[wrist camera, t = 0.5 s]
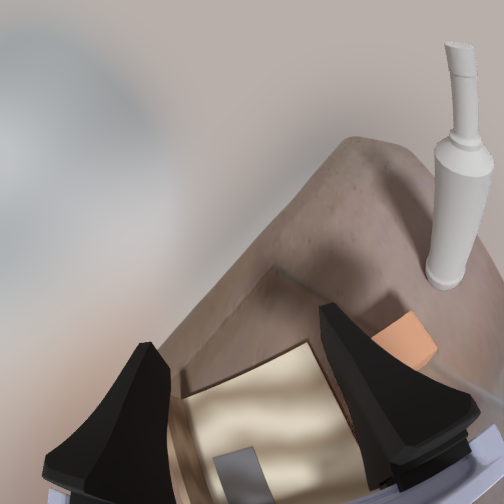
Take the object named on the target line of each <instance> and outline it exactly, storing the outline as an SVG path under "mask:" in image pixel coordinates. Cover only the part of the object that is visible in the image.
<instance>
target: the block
mask: <svg viewBox="0 0 504 504" xmlns="http://www.w3.org/2000/svg"><path fill="white" fill-rule="evenodd" d="M371 339H372V340H373V341H375V342H376V343H377V344H378V345H379V346H381V347H382V348H383V349H384V350H386V351H387V352H388V353H390V354H391V355H393V356H394V357H395V358H397V359H398V360H400V361H401V362H403V363H404V364H406V365H407V366H409V367H411V368H412V369H414V370H416V371H417V370H419V369H420V368H421V367H423V366H424V365H425V364H427V363H428V362H429V360H430V359H431V358H432V356H433V355H434V353H435V352H436V351H437V349H438V348H437V347H436V345H435V344H434V342H433V341H432V339H431V338H430V336H429V335H428V333H427V332H426V330H425V329H424V327H423V326H422V325H421V323H420V322H419V320H418V319H417V318H416V316H415V315H414V313H413V312H412V311H410V312H408V313H407V314H405V315H404V316H403V317H401V318H400V319H398V320H397V321H396V322H394V323H393V324H391V325H390V326H388V327H387V328H385V329H384V330H382V331H381V332H379V333H378V334H376V335H375V336H373V337H372V338H371Z"/></svg>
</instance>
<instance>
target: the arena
mask: <svg viewBox="0 0 504 504" xmlns="http://www.w3.org/2000/svg"><path fill="white" fill-rule="evenodd" d="M167 449H168V454H169V458H170V462H171V466H172V469H173V473H174V476H175V480H176V483H177V486H178V489H179V493H180V496H181V499H182V502H183V504H343V503H346V502H349V501H352V500H355V499H358V498H361V497H364V496H367V495H370V494H372V493H375V492H378V491H380V488H378V489H376V490H373V491H371V492H370V491H369V488H368V484H367V479H366V474H365V469H364V464H363V460H362V455H361V451H360V447H359V445H358V443H357V441H356V439H355V437H354V435H353V433H352V431H351V429H350V427H349V425H348V423H347V420H346V418H345V416H344V414H343V412H342V410H341V408H340V406H339V404H338V402H337V400H336V398H335V396H334V394H333V392H332V390H331V388H330V386H329V384H328V382H327V380H326V378H325V376H324V374H323V372H322V370H321V368H320V366H319V364H318V362H317V360H316V358H315V356H314V354H313V352H312V350H311V348H310V346H309V344H308V343H307V342H306V343H305V344H303V345H301V346H299V347H297V348H295V349H293V350H292V351H290V352H288V353H286V354H284V355H282V356H280V357H278V358H276V359H274V360H272V361H270V362H268V363H266V364H264V365H262V366H260V367H258V368H255V369H253V370H251V371H249V372H247V373H245V374H243V375H240V376H238V377H236V378H234V379H231V380H229V381H227V382H225V383H222V384H220V385H217V386H215V387H213V388H210V389H208V390H205V391H203V392H200V393H198V394H195V395H193V396H190V397H187V398H185V399H181V398H177V397H174V396H171V395H170V404H169V415H168V426H167Z"/></svg>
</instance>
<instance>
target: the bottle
mask: <svg viewBox="0 0 504 504" xmlns="http://www.w3.org/2000/svg"><path fill="white" fill-rule="evenodd" d="M444 44H445V49H446V55H447V61H448V68H449V71H450V78H451V87H452V100H453V121H454V128H453V129H452V130H450V133H449V136H448V137H446V138H444V139H443V140H441V141H440V142H438V143H437V145H436V147H435V149H434V152H435V153H434V154H435V193H434V213H433V226H432V236H431V245H430V253H429V255H428V257H427V259H426V269H425V273H426V276H427V279H428V282H429V283H430V284H431V285H432V286H433V287H434V288H436V289H438V290H443V291H448V290H451V289H453V288H455V287H456V286H457V285H458V284H459V283H460V282H461V280H462V278H463V275H464V273H465V265H466V262H467V259H468V257H469V254H470V252H471V249H472V246H473V243H474V240H475V237H476V234H477V231H478V228H479V225H480V222H481V218H482V214H483V211H484V208H485V204H486V200H487V196H488V192H489V187H490V183H491V178H492V173H493V167H494V160H493V158H492V156H491V154H490V152H489V151H488V150H487V149H486V148H485V147H484V146H483V145H482V139H481V137H480V136H479V135H478V87H477V66H476V57H475V50H474V47H472V46H470V45H467V44H463V43H458V42H446V43H444Z"/></svg>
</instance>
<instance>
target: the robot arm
mask: <svg viewBox="0 0 504 504" xmlns="http://www.w3.org/2000/svg"><path fill="white" fill-rule="evenodd" d="M319 314H320V329H321V340H322V343H323V347H324V350H325V353H326V356H327V359H328V361H329V364H330V366H331V368H332V371H333V373H334V375H335V377H336V380H337V382H338V384H339V386H340V389H341V391H342V393H343V396H344V398H345V400H346V403H347V405H348V408H349V411H350V415H351V418H352V421H353V425H354V428H355V432H356V436H357V439H358V443H359V447H360V451H361V455H362V460H363V464H364V469H365V474H366V479H367V484H368V488H369V491H370V492H371V491H373V490H376V489H378V488H381V487H383V486H387V488H385V489H383V490H380V491H378V492H375V493H372V494H370V495H367V496H364V497H361V498H358V499H355V500H352V501H349V502H346V503H343V504H471V503H472V502H474V501H475V500H476V499H477V498H479V497H480V496H481V495H482V494H483V493H484V492H486V491H487V490H488V489H489V488H490V487H492V486H493V485H494V484H495V483H496V482H497V481H498V480H500V479H501V478H502V477H503V476H504V441H503V439H502V437H501V434H500V432H499V430H498V428H497V426H496V424H495V423H493V424H492V425H490V426H489V427H488V428H487V429H485V430H484V431H483V432H481V433H480V434H479V435H477V436H476V437H475V438H473V439H472V440H471V441H469V442H468V441H467V439H466V437H468V432H467V430H466V428H467V427H468V426H469V425H471V424H472V423H473V422H474V421H475V420H476V419H477V418H478V417H479V415H480V413H481V411H480V410H479V408H478V406H477V404H476V402H475V401H474V399H473V398H472V397H471V395H470V394H468V393H465V392H462V391H459V390H456V389H453V388H451V387H448V386H446V385H444V384H441V383H439V382H437V381H435V380H433V379H431V378H429V377H427V376H425V375H423V374H421V373H419V372H418V371H416V370H414V369H412V368H411V367H409V366H407V365H406V364H404V363H403V362H401V361H400V360H398V359H397V358H395V357H394V356H393V355H391V354H390V353H388V352H387V351H386V350H384V349H383V348H382V347H381V346H379V345H378V344H377V343H376V342H375V341H373V340H372V339H371V338H370V337H369V336H368V335H366V334H365V333H364V332H363V331H362V330H361V329H360V328H359V327H358V326H357V325H356V324H355V323H354V322H353V321H351V320H350V319H349V318H348V317H347V315H346V314H345V313H344V312H343V311H342V310H341V309H340V308H339V307H338V306H337V305H336V304H335V303H330V304H326V305H322V306H319ZM170 393H171V374H170V368H169V366H168V365H167V364H166V362H165V361H164V359H163V358H162V357H161V355H160V354H159V352H158V351H157V349H156V348H155V347H154V345H153V344H152V342H145V343H139V345H138V346H137V347H136V349H135V351H134V352H133V354H132V355H131V357H130V359H129V360H128V362H127V363H126V365H125V367H124V368H123V370H122V372H121V373H120V375H119V376H118V378H117V379H116V381H115V383H114V384H113V386H112V387H111V388H110V390H109V391H108V393H107V395H106V396H105V398H104V399H103V400H102V402H101V403H100V404H99V406H98V407H97V408H96V409H95V411H94V412H93V413H92V414H91V415H90V417H89V418H88V419H87V420H86V421H85V422H84V423H83V424H82V425H81V426H80V427H79V428H78V429H77V430H76V431H75V432H74V433H73V434H72V435H71V436H70V437H69V438H68V439H67V440H65V441H64V442H63V443H62V444H61V445H59V446H58V447H57V448H55V449H54V450H52V451H51V452H49V453H48V454H47V455H46V456H45V461H44V466H43V472H42V477H43V478H44V479H45V480H47V481H49V482H51V483H53V484H56V485H58V486H60V487H62V488H64V489H66V490H69V491H71V496H70V495H68V494H65V493H63V492H60V491H58V490H55V489H53V488H49V495H48V504H176V500H175V496H174V492H173V488H172V482H171V476H170V470H169V461H168V449H167V426H168V415H169V404H170Z"/></svg>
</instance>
